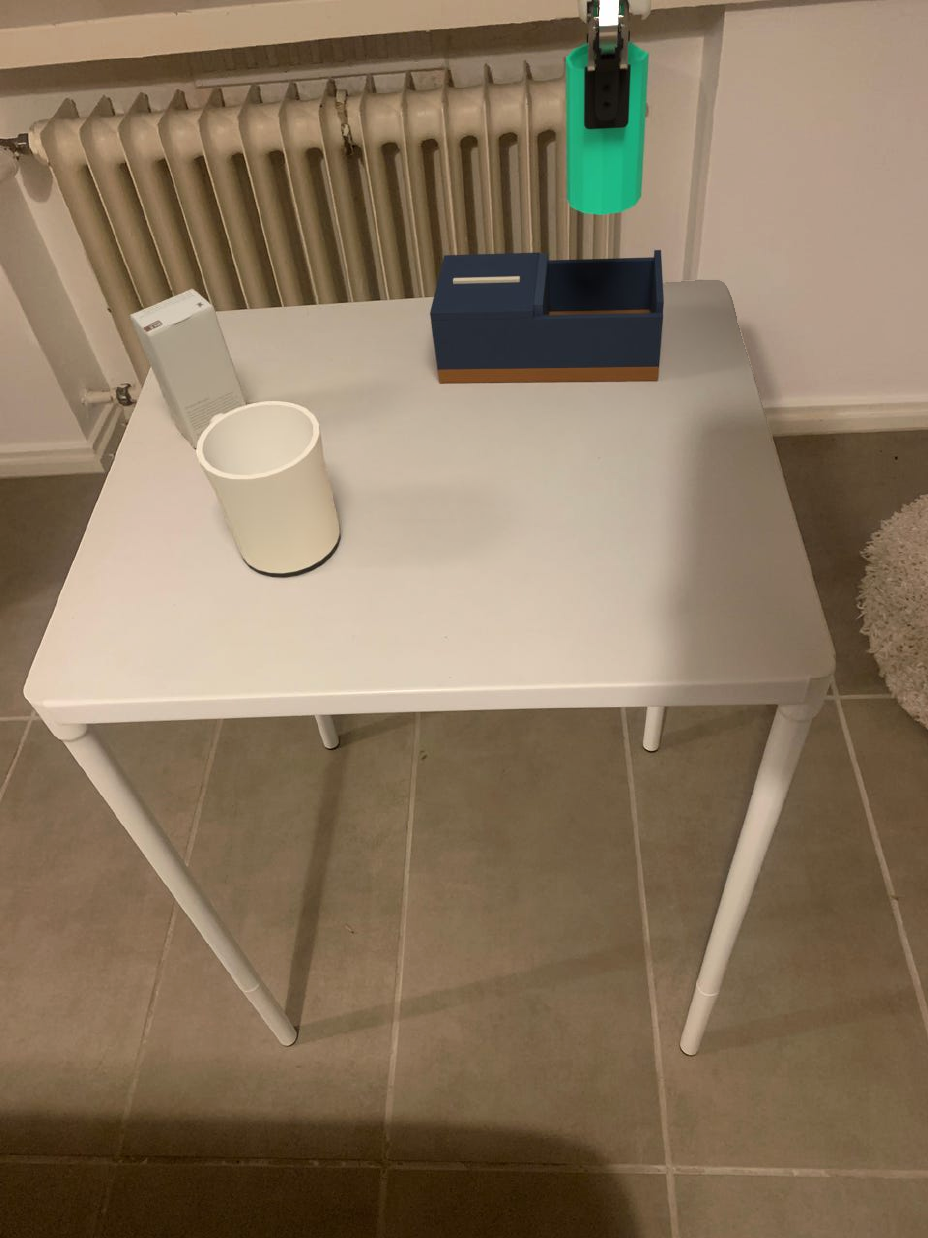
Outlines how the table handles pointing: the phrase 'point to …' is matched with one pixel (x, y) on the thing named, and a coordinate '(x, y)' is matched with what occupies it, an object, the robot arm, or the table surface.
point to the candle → (604, 142)
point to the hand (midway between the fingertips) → (606, 105)
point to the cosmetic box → (189, 361)
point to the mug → (272, 485)
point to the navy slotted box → (547, 319)
